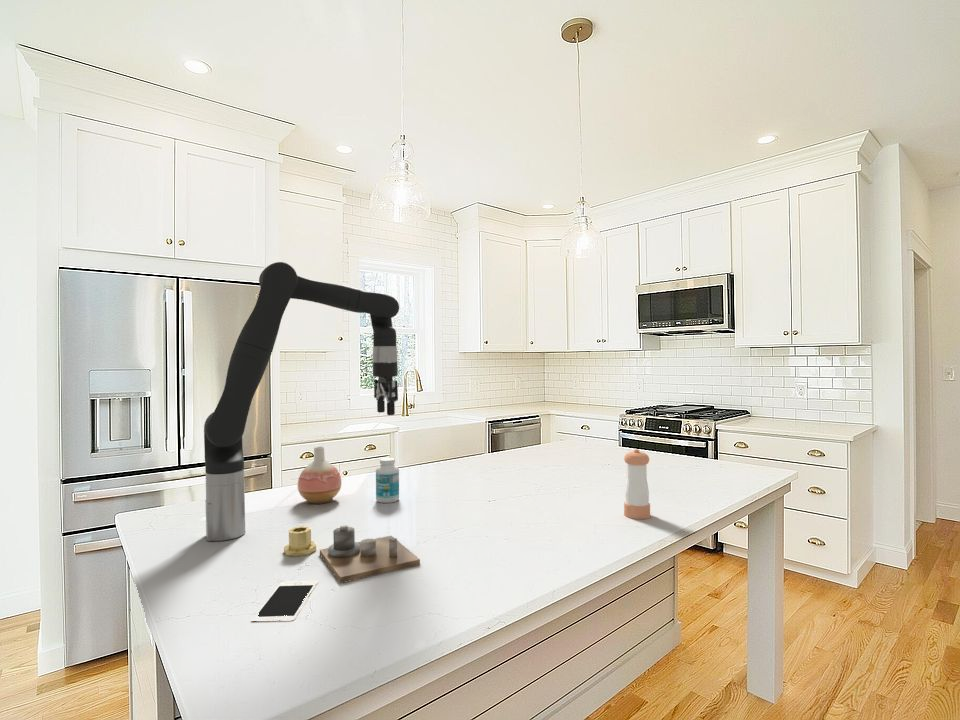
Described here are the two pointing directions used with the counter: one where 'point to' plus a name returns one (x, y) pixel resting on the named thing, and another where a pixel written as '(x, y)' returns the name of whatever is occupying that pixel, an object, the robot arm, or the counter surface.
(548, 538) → the counter surface
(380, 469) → the pill bottle
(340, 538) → the board
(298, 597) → the cell phone
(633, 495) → the salt shaker
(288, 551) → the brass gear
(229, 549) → the counter surface
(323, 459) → the vase
